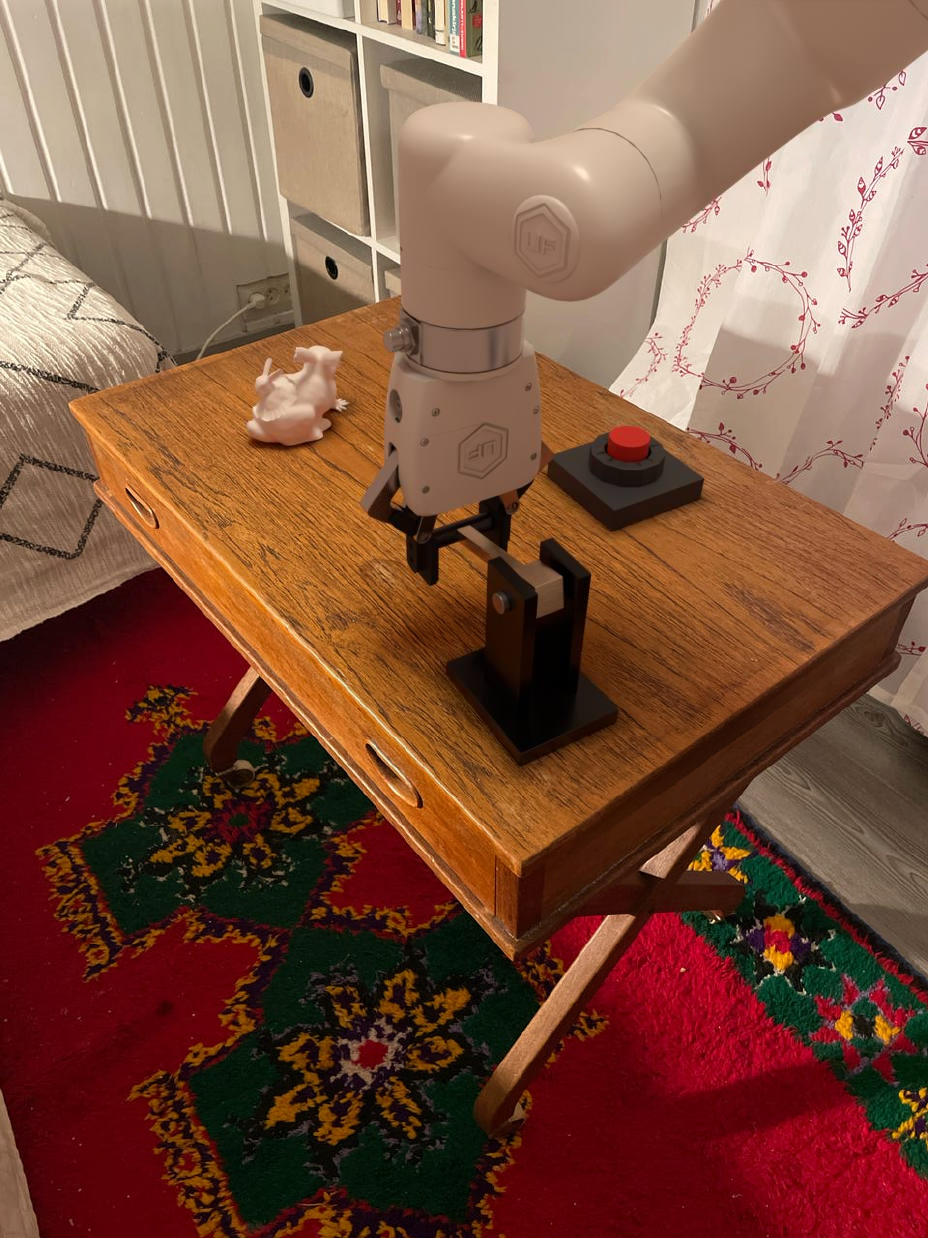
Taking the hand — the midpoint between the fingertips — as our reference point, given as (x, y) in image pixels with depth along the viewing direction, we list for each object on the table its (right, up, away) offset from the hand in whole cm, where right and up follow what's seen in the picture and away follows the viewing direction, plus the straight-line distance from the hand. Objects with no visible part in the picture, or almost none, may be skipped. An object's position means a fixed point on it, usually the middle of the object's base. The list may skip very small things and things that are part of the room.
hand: (458, 560), depth 71 cm
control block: (+15, +8, +17) cm, 24 cm away
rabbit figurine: (-15, +14, +24) cm, 31 cm away
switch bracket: (+5, -10, -3) cm, 11 cm away
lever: (+3, -1, -5) cm, 6 cm away
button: (+15, +10, +15) cm, 23 cm away
